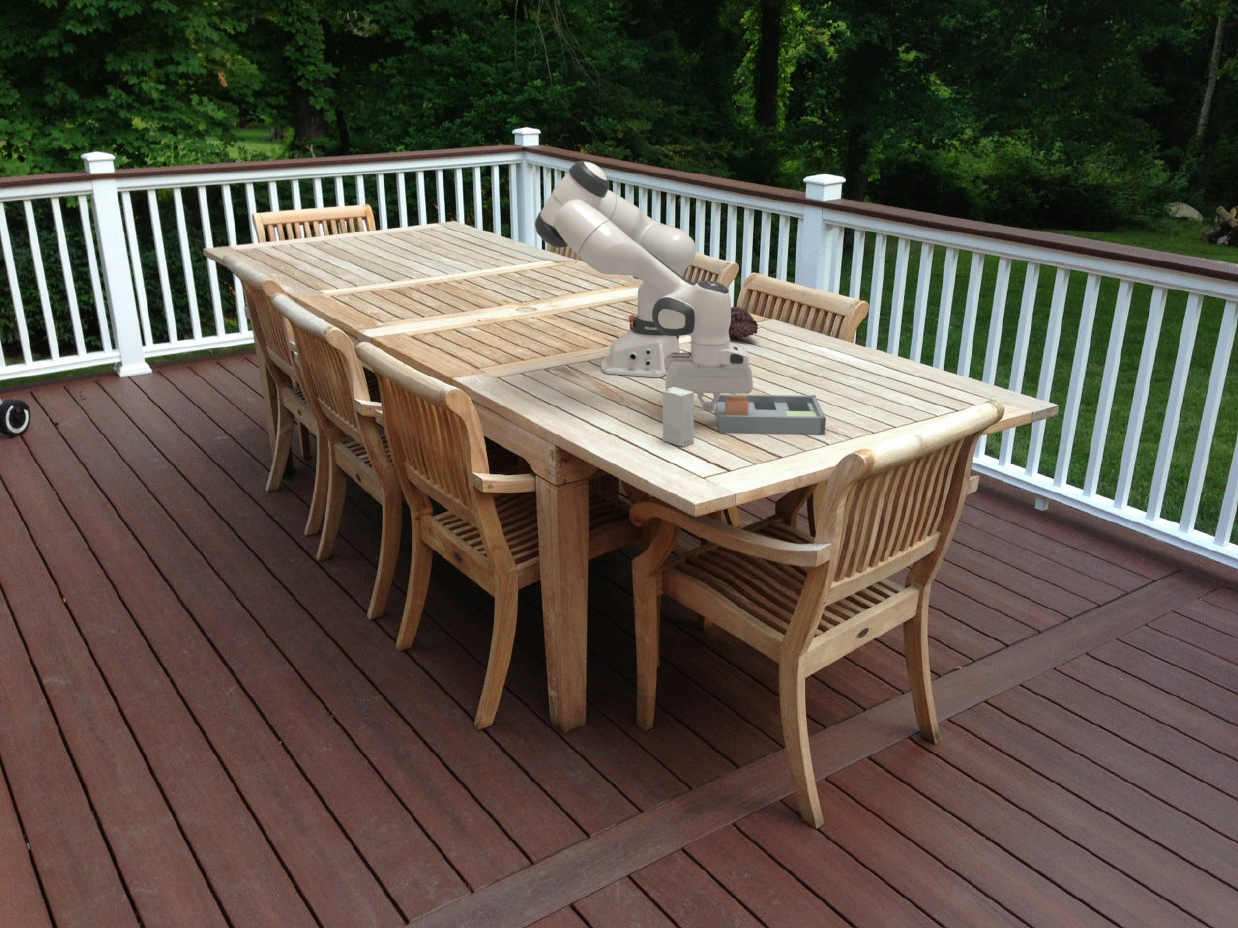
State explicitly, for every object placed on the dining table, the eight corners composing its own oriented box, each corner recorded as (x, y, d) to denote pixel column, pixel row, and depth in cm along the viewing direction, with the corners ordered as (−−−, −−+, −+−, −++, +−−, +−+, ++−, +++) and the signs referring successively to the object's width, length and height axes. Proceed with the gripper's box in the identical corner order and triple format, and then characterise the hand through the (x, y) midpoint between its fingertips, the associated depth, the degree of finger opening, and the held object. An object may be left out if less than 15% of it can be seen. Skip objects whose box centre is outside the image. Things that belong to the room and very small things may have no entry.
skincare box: (694, 443, 245) (696, 391, 241) (681, 448, 242) (683, 396, 238) (673, 436, 249) (675, 385, 245) (660, 441, 246) (661, 389, 241)
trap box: (720, 432, 251) (720, 416, 250) (715, 409, 267) (716, 393, 266) (824, 434, 251) (825, 418, 250) (813, 410, 267) (815, 395, 265)
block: (726, 418, 253) (726, 402, 252) (724, 411, 258) (725, 395, 256) (747, 419, 253) (748, 402, 252) (745, 412, 258) (746, 396, 256)
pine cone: (767, 344, 323) (769, 311, 320) (740, 348, 318) (742, 315, 315) (730, 331, 337) (732, 299, 334) (704, 335, 332) (705, 303, 329)
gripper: (664, 356, 247) (663, 413, 252) (755, 357, 247) (752, 415, 252) (664, 348, 253) (663, 405, 258) (752, 349, 253) (749, 406, 258)
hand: (707, 410), depth 255 cm, fingers closed
